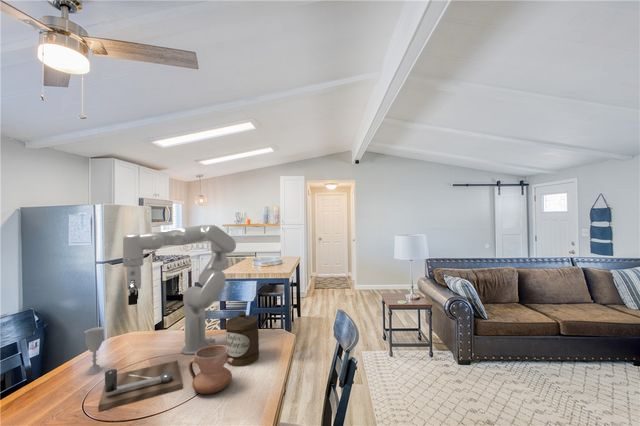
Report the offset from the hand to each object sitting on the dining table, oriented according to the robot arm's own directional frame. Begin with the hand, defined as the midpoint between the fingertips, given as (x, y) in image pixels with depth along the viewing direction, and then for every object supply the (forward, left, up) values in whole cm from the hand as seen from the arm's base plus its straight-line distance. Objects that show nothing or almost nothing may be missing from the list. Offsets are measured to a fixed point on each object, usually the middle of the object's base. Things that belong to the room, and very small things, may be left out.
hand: (133, 301), depth 127 cm
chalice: (+15, -10, -31) cm, 35 cm away
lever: (-3, +20, -28) cm, 34 cm away
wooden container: (-44, +13, -31) cm, 55 cm away
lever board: (-4, +14, -30) cm, 34 cm away
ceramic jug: (-27, +30, -31) cm, 51 cm away
